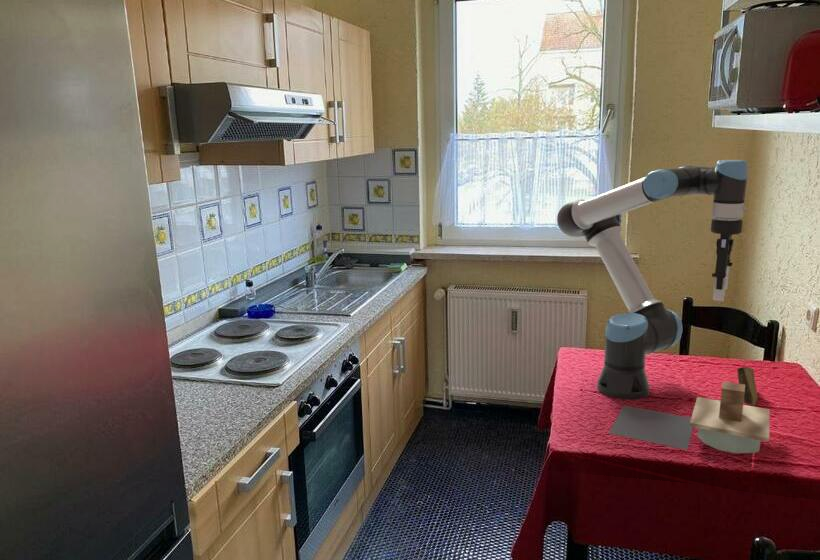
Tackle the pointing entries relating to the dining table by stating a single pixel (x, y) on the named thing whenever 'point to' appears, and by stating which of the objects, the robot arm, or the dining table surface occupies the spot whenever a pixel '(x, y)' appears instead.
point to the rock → (748, 384)
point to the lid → (731, 414)
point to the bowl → (729, 442)
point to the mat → (653, 427)
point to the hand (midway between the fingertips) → (720, 294)
